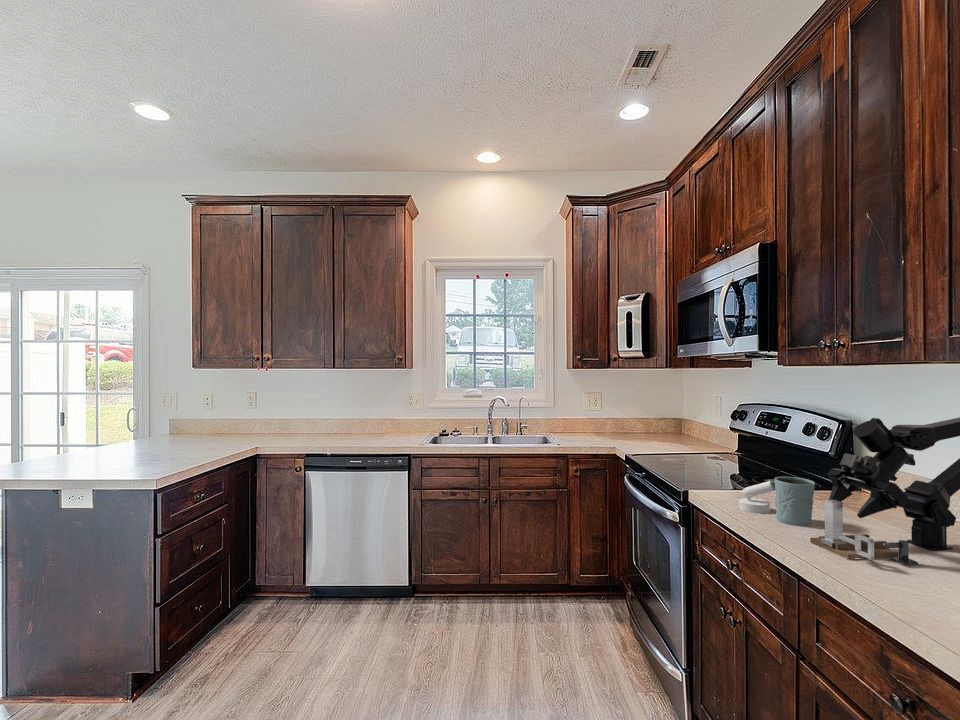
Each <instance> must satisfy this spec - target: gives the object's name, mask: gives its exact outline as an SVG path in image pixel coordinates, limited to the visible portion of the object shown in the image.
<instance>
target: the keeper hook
mask: <svg viewBox="0 0 960 720" xmlns="http://www.w3.org/2000/svg"><path fill="white" fill-rule="evenodd" d="M909 544H910V543H909V542H908V541H907V540H905V539H899V540H898V542H897V541H894V542H887V543H883V544H882V546H883V547H884V548H889V549H898V557H890V558H889V561H892V562H894V563H896V562H897V564H900V565H901V566H904V567H905V566H918V565H919V562H918V561H916V560H913V559H912V558H910V556H909V554H910V549H909V548H910V546H909Z"/></svg>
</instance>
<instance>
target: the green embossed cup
mask: <svg viewBox="0 0 960 720" xmlns="http://www.w3.org/2000/svg"><path fill="white" fill-rule="evenodd" d="M815 486H816V482H815V481H814V480H811V479H807V478H804V477H795V476H794V477H793V476H777V477H774V488H775V491H774V492H775V493H774V494H775V507H776V510H775V513H776V519H777V522H780V523H781V524H784V525H790V526H795V525H796V527H797V526H798V527H807V526H806V525H808V526H810V525H811V523H812V517H813V514H812V513H813V507H814V506H813V505H814V495H815Z"/></svg>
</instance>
